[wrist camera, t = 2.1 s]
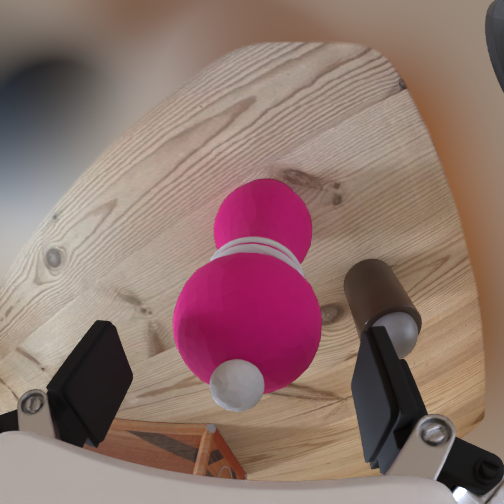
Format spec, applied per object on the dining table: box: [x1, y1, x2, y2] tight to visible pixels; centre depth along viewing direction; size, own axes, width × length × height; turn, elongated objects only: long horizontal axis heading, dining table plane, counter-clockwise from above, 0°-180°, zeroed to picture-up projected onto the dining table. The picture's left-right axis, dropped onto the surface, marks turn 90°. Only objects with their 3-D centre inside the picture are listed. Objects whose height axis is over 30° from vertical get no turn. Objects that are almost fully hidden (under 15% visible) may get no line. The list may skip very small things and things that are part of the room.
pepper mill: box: [173, 179, 322, 412], centre depth 17 cm, size 7×7×20 cm
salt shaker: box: [344, 259, 422, 359], centre depth 24 cm, size 5×5×10 cm
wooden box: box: [83, 418, 247, 480], centre depth 38 cm, size 20×41×20 cm, turn 104°
